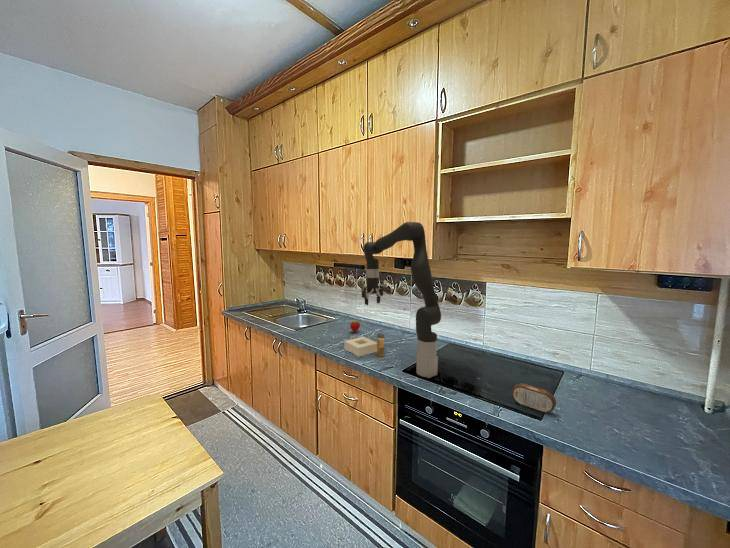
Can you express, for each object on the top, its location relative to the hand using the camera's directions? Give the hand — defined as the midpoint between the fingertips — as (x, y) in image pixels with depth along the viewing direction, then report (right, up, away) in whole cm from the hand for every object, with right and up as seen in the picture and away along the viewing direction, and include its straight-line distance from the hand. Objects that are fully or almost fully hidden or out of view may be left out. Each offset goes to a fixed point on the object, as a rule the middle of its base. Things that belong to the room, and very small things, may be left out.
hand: (372, 303), depth 176 cm
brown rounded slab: (+61, -35, -59) cm, 92 cm away
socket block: (-7, -27, 0) cm, 28 cm away
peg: (+4, -28, -8) cm, 30 cm away
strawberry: (-11, -23, +33) cm, 42 cm away
